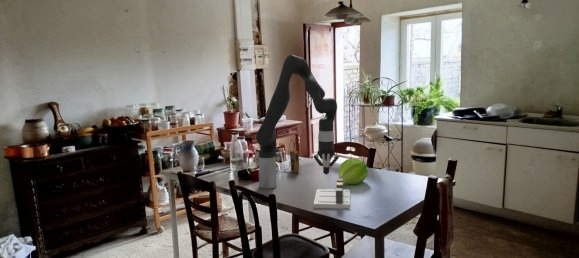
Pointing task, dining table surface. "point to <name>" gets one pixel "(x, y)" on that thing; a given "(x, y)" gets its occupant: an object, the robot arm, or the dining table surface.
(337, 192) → the block
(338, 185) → the block
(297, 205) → the dining table surface
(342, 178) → the block
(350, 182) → the lettuce
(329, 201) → the breaker panel
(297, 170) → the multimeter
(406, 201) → the dining table surface
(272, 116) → the robot arm
